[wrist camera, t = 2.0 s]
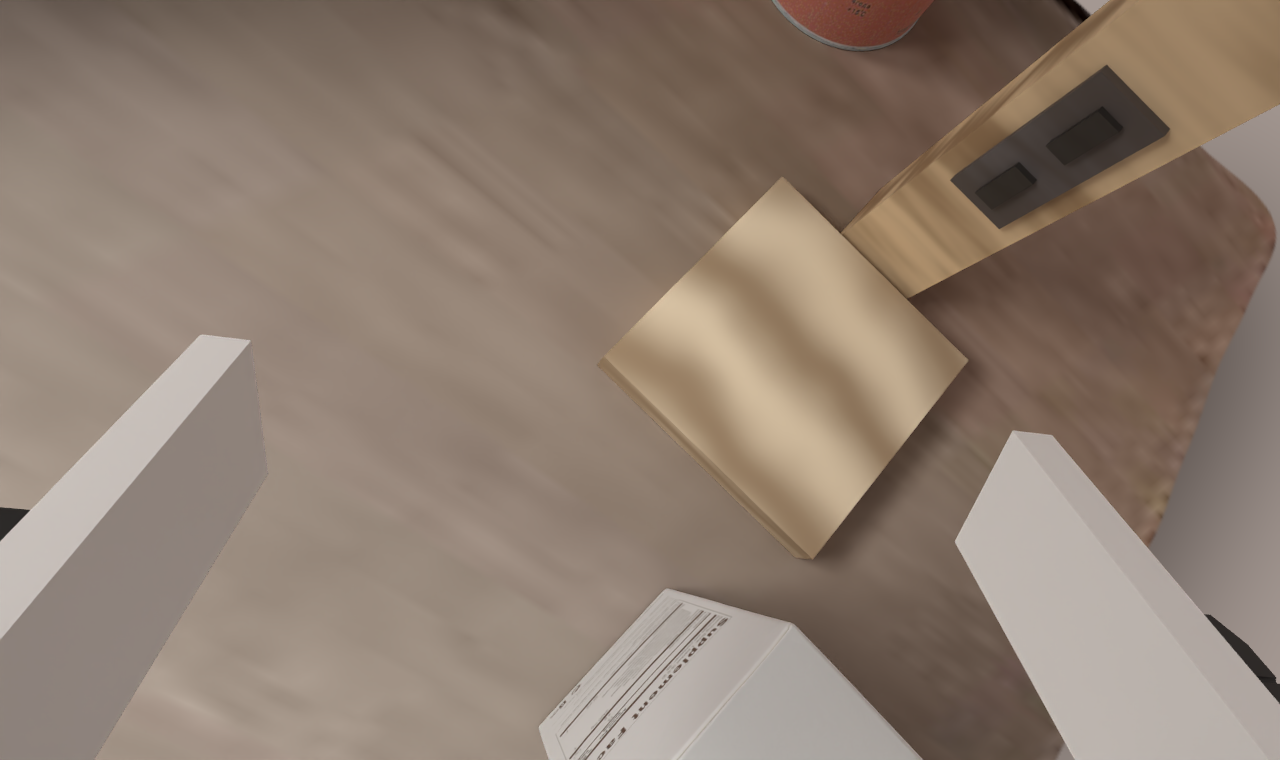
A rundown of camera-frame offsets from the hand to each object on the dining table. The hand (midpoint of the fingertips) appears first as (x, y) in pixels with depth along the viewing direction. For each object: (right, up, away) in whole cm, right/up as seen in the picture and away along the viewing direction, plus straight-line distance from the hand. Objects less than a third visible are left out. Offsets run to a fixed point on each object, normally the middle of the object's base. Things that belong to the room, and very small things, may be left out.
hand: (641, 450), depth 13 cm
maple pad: (+8, +2, +26) cm, 28 cm away
